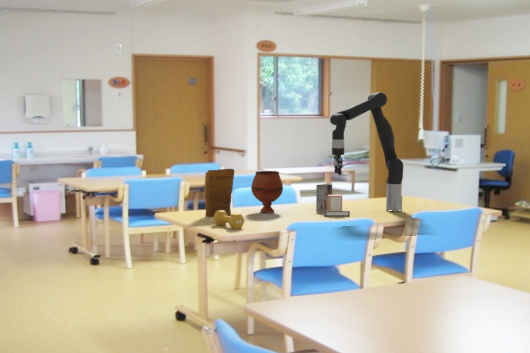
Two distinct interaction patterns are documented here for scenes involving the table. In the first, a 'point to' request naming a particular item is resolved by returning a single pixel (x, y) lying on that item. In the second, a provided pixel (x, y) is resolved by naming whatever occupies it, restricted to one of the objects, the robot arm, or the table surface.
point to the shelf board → (336, 213)
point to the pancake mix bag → (218, 191)
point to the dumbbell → (228, 219)
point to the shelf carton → (334, 203)
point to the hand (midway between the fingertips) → (338, 173)
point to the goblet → (267, 188)
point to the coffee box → (322, 196)
